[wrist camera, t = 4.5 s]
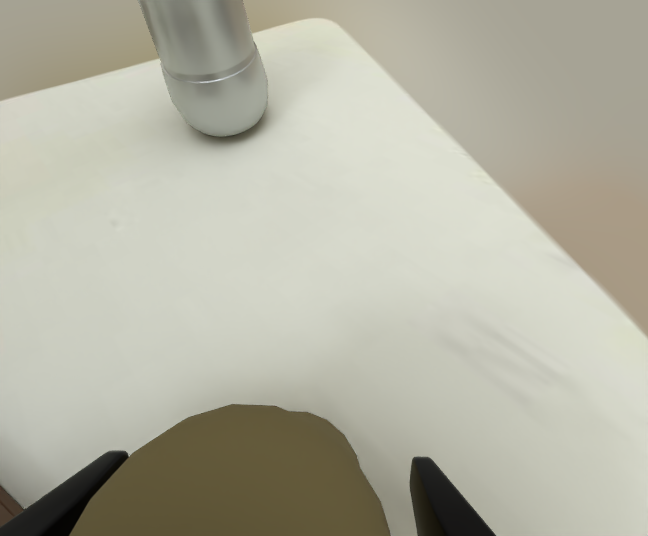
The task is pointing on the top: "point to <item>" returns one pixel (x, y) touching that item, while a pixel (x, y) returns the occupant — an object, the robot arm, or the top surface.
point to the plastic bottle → (209, 62)
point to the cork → (239, 481)
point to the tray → (7, 507)
